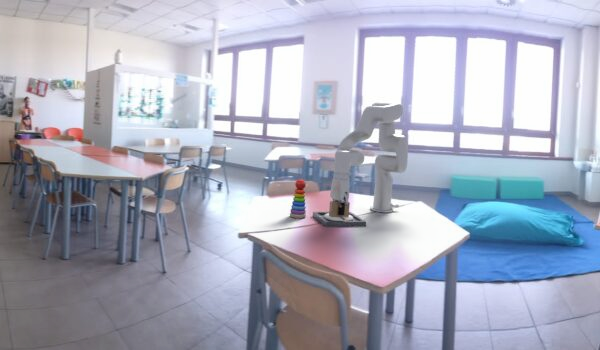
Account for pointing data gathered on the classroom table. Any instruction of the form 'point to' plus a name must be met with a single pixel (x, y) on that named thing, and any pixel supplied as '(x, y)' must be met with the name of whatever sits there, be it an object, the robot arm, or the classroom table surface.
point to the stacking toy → (299, 200)
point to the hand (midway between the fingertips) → (338, 213)
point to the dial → (334, 212)
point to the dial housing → (328, 223)
